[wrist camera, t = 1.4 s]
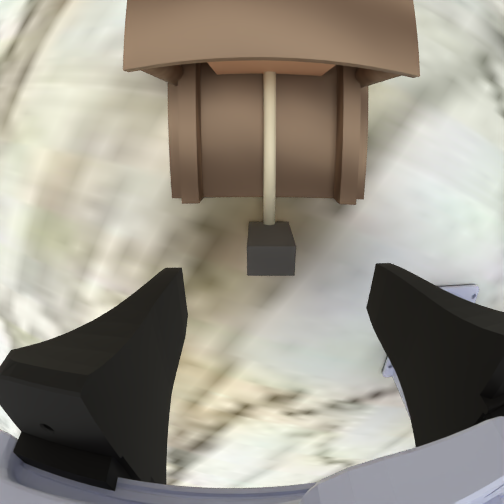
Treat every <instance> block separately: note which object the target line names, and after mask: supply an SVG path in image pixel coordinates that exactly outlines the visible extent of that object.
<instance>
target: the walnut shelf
mask: <svg viewBox="0 0 504 504" xmlns="http://www.w3.org/2000/svg"><path fill="white" fill-rule="evenodd" d="M245 60H270V61H298V62H313V63H324V64H334V65H335V66H334V67H332V68H331V69H330V70H328V71H327V72H326V73H325V74H323V75H322V76H312V75H295V74H276V192H275V197H311V198H334V199H335V200H336V201H337V202H338V203H339V204H350V205H356V199H364V188H365V175H366V158H367V136H368V86H369V85H372V84H375V83H378V82H382V81H385V80H388V79H391V78H395V77H398V76H402V75H403V76H407V77H412V78H415V77H419V76H420V68H419V51H418V38H417V28H416V19H415V11H414V4H413V0H127V9H126V20H125V35H124V55H123V70H124V71H127V72H133V71H138V70H141V71H144V72H146V73H148V74H150V75H153V76H155V77H157V78H160V79H162V80H164V81H166V82H168V128H169V154H170V173H171V189H172V198H182V204H188V203H200V201H201V200H202V199H203V197H263V188H264V99H263V74H220V75H217V74H216V73H215V72H214V70H213V69H212V68H211V67H210V65H209V64H208V63H207V62H218V61H245Z"/></svg>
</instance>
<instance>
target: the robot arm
mask: <svg viewBox="0 0 504 504" xmlns="http://www.w3.org/2000/svg"><path fill="white" fill-rule="evenodd" d="M478 292H479V287H478V286H477V285H464V286H448V287H437V286H435V285H433V284H432V283H430V282H428V281H426V280H424V279H422V278H420V277H418V276H416V275H415V274H413V273H411V272H409V271H407V270H405V269H403V268H401V267H398V266H396V265H394V264H391V263H380V264H376V265H375V271H374V276H373V280H372V285H371V290H370V294H369V299H368V303H367V307H366V308H367V311H368V314H369V318H370V321H371V323H372V326H373V329H374V331H375V333H376V335H377V337H378V339H379V341H380V343H381V344H382V346H383V348H384V350H385V352H386V354H387V356H388V357H387V360H386V363H385V366H384V369H383V372H382V374H383V376H384V377H391V376H392V377H393V379H394V381H395V384H396V386H397V388H398V391H399V393H400V395H401V398H402V400H403V402H404V405H405V407H406V409H407V412H408V414H409V417H410V419H411V423H412V428H413V433H414V438H415V444H416V448H413V449H409V450H406V451H402V452H399V453H395V454H392V455H388V456H384V457H380V458H377V459H374V460H371V461H368V462H365V463H361V464H358V465H355V466H351V467H348V468H346V469H344V470H341V471H339V472H337V473H335V474H333V475H330V476H328V477H326V478H323V479H321V480H320V481H319V482H315V483H308V484H299V485H290V486H278V487H262V488H202V487H186V486H175V485H166V459H167V437H168V423H169V412H170V403H171V394H172V389H173V384H174V380H175V376H176V372H177V368H178V364H179V360H180V356H181V352H182V348H183V344H184V340H185V335H186V327H187V318H188V312H187V305H186V297H185V289H184V281H183V273H182V268H165V269H163V270H162V271H161V272H159V273H158V274H157V275H156V276H154V277H153V278H152V279H151V280H150V281H148V282H147V283H146V284H145V285H144V286H142V287H141V288H140V289H139V290H137V291H136V292H135V293H134V294H132V295H131V296H130V297H128V298H127V299H125V300H124V301H123V302H121V303H120V304H119V305H117V306H116V307H114V308H113V309H111V310H110V311H108V312H107V313H105V314H103V315H102V316H100V317H98V318H97V319H95V320H93V321H91V322H89V323H87V324H85V325H83V326H81V327H79V328H77V329H75V330H73V331H70V332H68V333H66V334H63V335H61V336H58V337H55V338H53V339H50V340H47V341H44V342H41V343H37V344H34V345H30V346H26V347H22V348H18V349H14V350H11V351H10V352H9V354H8V355H7V357H6V358H5V360H4V361H3V363H2V364H1V366H0V405H1V407H2V408H3V409H4V411H5V412H6V413H7V414H8V416H9V417H10V418H11V420H12V421H13V422H14V423H15V424H16V426H17V427H18V428H19V429H20V430H21V434H20V437H19V439H17V438H15V437H14V436H12V435H11V434H9V433H7V432H5V431H3V430H0V504H504V312H501V311H497V310H494V309H490V308H487V307H484V306H481V305H478V304H475V301H476V298H477V295H478ZM472 295H473V296H472ZM390 364H391V365H390Z"/></svg>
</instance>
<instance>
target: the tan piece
mask: <svg viewBox="0 0 504 504" xmlns="http://www.w3.org/2000/svg"><path fill="white" fill-rule="evenodd" d="M207 63H208V64H209V65H210V67H211V68H212V69H213V70H214V72H215V73H216V74H217V75H220V74H263V99H264V188H263V222H249V230H248V241H247V275H252V276H294V274H295V256H296V245H295V241H294V238H293V235H292V232H291V228H290V225H289V222H275V192H276V74H295V75H312V76H322V75H323V74H325V73H326V72H327V71H328V70H330V69H331V68H332V67H334V66H335V65H334V64H324V63H313V62H298V61H270V60H245V61H218V62H207Z"/></svg>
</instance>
